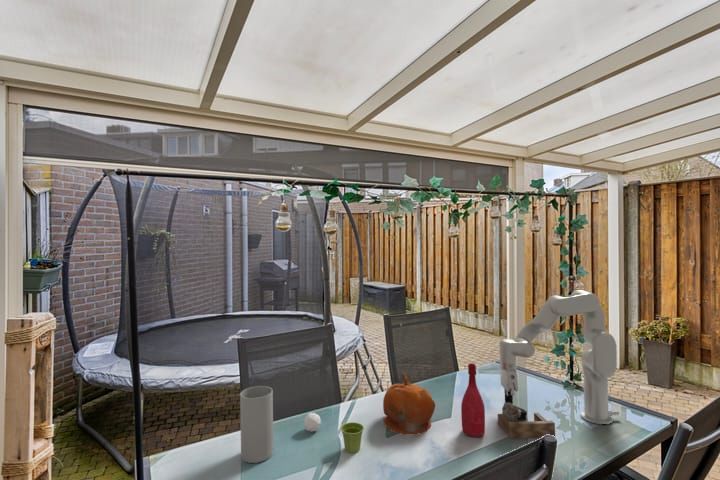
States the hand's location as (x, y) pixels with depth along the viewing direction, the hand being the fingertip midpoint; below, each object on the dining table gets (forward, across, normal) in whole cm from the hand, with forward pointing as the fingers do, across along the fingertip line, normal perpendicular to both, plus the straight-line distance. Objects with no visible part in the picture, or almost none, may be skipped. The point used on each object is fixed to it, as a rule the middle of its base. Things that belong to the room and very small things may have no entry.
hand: (508, 403), depth 179 cm
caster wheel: (+5, -4, -1) cm, 6 cm away
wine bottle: (+5, -17, +23) cm, 29 cm away
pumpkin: (+6, -7, +50) cm, 51 cm away
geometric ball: (+6, -12, +94) cm, 95 cm away
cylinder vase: (+6, -30, +114) cm, 118 cm away
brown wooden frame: (+5, -16, 0) cm, 17 cm away
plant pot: (+6, -28, +76) cm, 81 cm away
